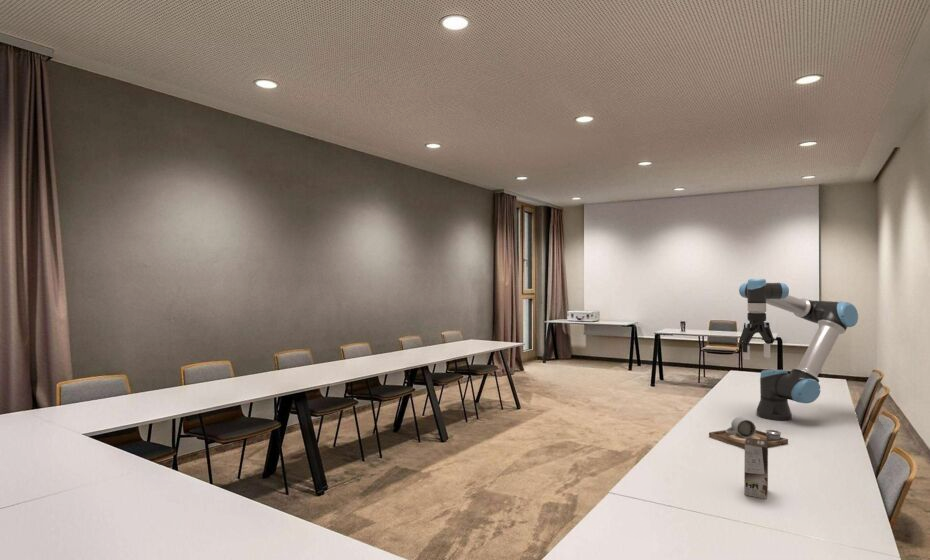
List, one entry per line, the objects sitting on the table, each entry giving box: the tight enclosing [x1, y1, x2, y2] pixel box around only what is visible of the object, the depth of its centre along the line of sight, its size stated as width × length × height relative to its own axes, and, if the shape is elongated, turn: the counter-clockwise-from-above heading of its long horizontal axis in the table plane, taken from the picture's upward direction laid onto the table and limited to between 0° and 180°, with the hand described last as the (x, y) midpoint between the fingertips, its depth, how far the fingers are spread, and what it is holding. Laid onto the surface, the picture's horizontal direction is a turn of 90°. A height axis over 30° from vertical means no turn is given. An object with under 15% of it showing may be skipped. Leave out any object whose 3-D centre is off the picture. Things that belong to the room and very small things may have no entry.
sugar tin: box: [765, 429, 781, 442], centre depth 218 cm, size 5×5×5 cm
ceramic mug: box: [725, 416, 757, 438], centre depth 224 cm, size 11×8×8 cm
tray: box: [708, 429, 789, 450], centre depth 221 cm, size 22×20×2 cm
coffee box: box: [743, 438, 769, 500], centre depth 168 cm, size 9×6×16 cm
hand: (756, 358), depth 241 cm, fingers open, 13 cm apart
